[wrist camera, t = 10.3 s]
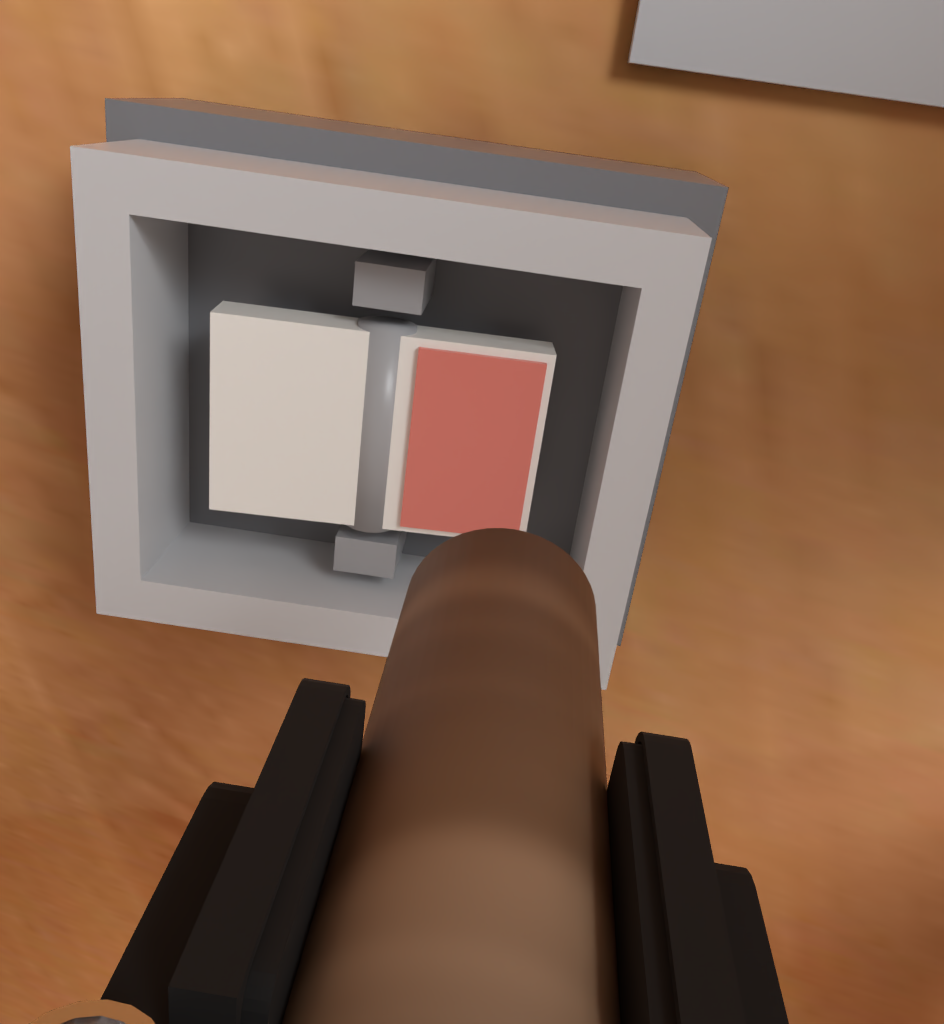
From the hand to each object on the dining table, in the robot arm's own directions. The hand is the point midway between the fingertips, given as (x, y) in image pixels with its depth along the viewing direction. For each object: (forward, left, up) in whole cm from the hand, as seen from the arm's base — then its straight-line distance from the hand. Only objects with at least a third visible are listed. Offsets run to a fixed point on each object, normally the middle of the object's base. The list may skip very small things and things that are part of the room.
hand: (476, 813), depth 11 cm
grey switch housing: (0, -3, -20) cm, 20 cm away
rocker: (0, -3, -13) cm, 13 cm away
